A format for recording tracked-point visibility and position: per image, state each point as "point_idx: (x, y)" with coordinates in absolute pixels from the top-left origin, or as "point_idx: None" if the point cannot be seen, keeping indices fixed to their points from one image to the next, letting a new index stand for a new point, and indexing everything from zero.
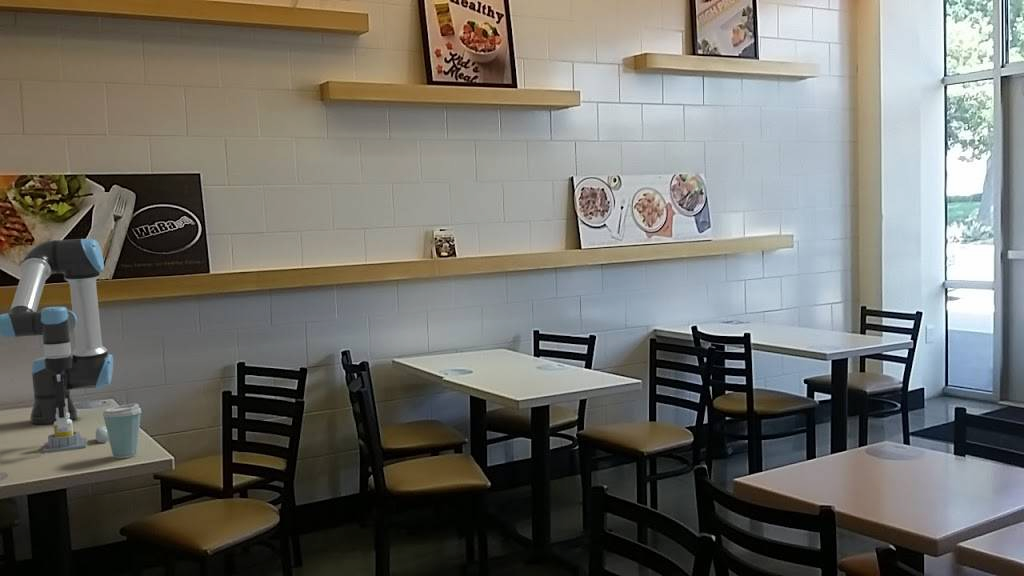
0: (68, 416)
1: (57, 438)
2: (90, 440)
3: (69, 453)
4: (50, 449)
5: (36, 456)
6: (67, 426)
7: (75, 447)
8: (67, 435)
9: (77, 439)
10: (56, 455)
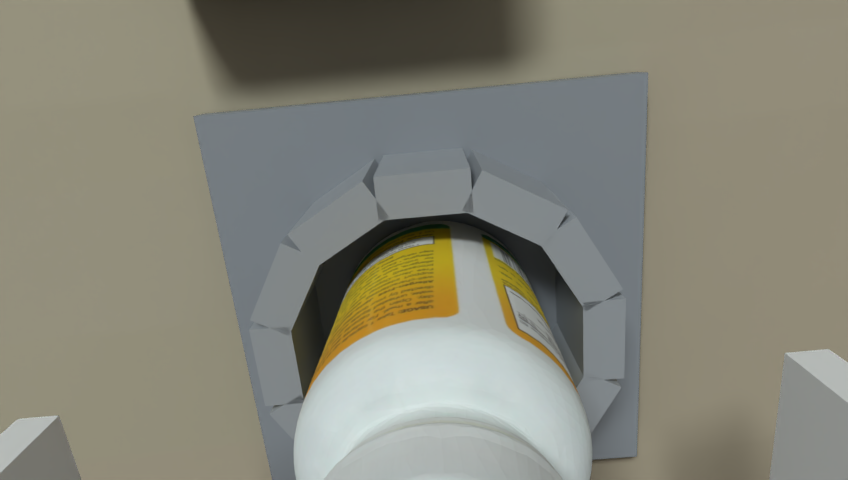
0: (517, 451)
1: (611, 397)
2: (233, 62)
3: (809, 211)
4: (630, 399)
5: (728, 468)
6: (810, 358)
7: (638, 178)
8: (540, 308)
9: (523, 180)
10: (813, 319)
